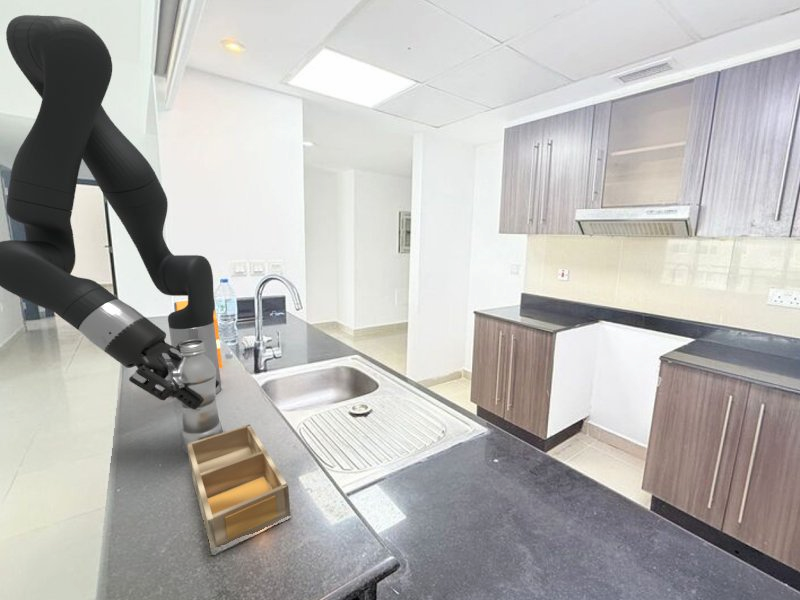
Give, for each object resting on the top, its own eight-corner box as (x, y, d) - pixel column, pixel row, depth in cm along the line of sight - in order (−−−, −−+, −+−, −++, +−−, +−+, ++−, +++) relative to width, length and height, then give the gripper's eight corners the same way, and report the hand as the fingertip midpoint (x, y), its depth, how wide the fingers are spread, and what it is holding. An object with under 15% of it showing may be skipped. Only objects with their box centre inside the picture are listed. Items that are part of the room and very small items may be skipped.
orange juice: (182, 367, 103) (173, 300, 99) (215, 360, 109) (208, 296, 105) (187, 376, 97) (178, 304, 94) (222, 368, 103) (215, 299, 99)
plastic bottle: (214, 435, 68) (203, 334, 65) (231, 448, 64) (220, 341, 60) (177, 451, 64) (162, 343, 60) (193, 466, 59) (177, 351, 56)
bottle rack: (190, 471, 58) (187, 443, 57) (252, 450, 64) (249, 424, 63) (212, 558, 43) (207, 522, 42) (291, 519, 48) (288, 487, 47)
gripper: (109, 328, 51) (205, 399, 55) (162, 307, 65) (236, 365, 69) (75, 365, 52) (173, 433, 55) (136, 336, 66) (210, 393, 69)
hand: (208, 395), depth 62 cm, fingers closed on plastic bottle, 6 cm apart
